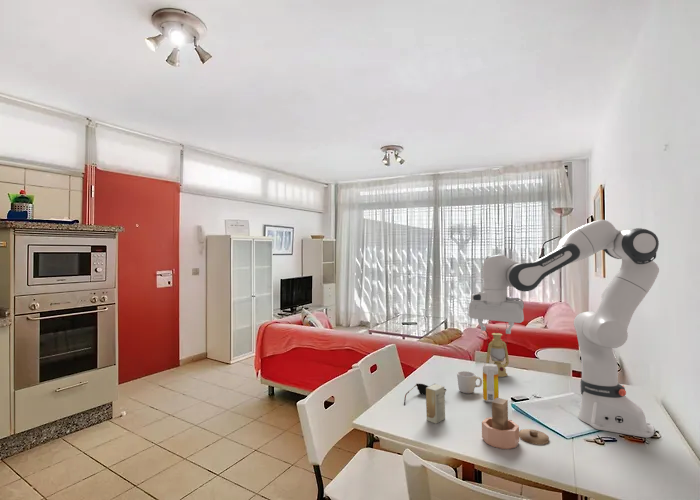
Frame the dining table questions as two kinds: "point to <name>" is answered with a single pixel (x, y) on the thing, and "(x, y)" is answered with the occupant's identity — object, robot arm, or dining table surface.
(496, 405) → the brown wooden block
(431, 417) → the skincare box
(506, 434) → the jar
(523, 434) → the jar lid
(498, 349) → the lantern
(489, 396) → the beer can
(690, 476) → the dining table surface
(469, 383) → the cup
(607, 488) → the dining table surface
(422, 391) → the sunglasses
